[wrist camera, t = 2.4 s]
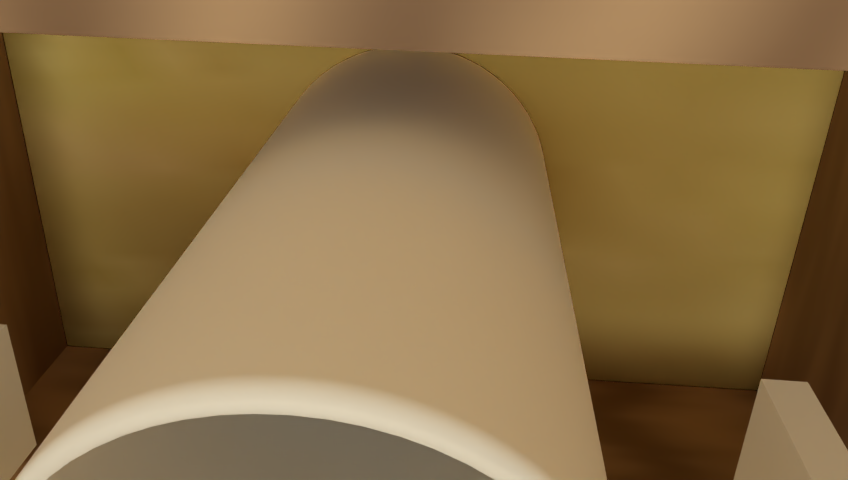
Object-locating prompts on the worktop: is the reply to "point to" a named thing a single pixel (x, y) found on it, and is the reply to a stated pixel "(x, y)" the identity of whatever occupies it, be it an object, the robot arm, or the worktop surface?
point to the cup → (357, 305)
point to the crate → (495, 35)
